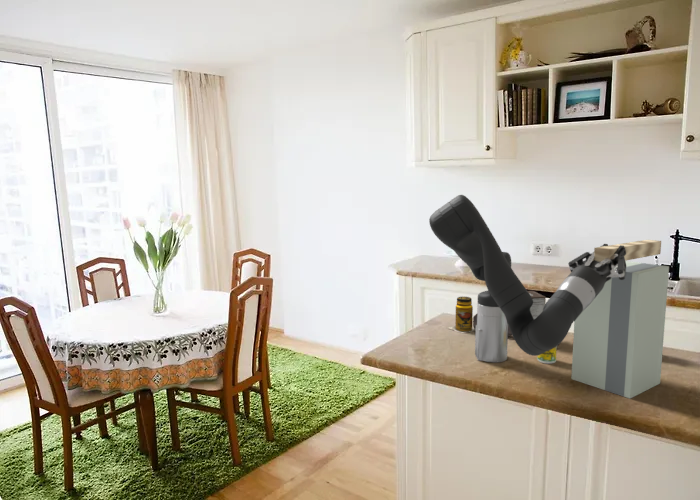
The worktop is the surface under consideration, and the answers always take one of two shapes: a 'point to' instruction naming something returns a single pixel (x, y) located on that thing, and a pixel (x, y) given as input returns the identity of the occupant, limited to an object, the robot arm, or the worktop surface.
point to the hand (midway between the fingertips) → (614, 247)
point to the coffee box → (537, 303)
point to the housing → (623, 332)
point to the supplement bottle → (548, 356)
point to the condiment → (463, 315)
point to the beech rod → (629, 250)
